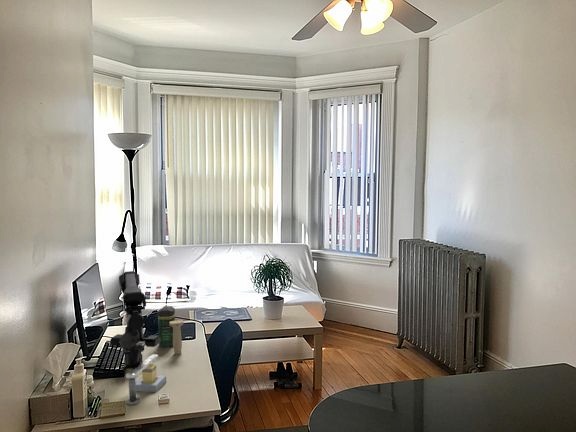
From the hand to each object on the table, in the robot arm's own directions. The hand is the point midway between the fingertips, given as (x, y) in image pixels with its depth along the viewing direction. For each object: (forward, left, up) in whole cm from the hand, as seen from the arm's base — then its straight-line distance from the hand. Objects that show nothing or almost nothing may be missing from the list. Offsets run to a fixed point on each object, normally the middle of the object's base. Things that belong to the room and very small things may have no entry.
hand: (136, 361), depth 192 cm
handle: (+2, +36, -10) cm, 37 cm away
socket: (+5, 0, -10) cm, 11 cm away
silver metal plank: (+5, -5, 0) cm, 7 cm away
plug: (+5, 0, -10) cm, 11 cm away
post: (+5, -14, -10) cm, 18 cm away
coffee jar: (-8, +48, -10) cm, 50 cm away
